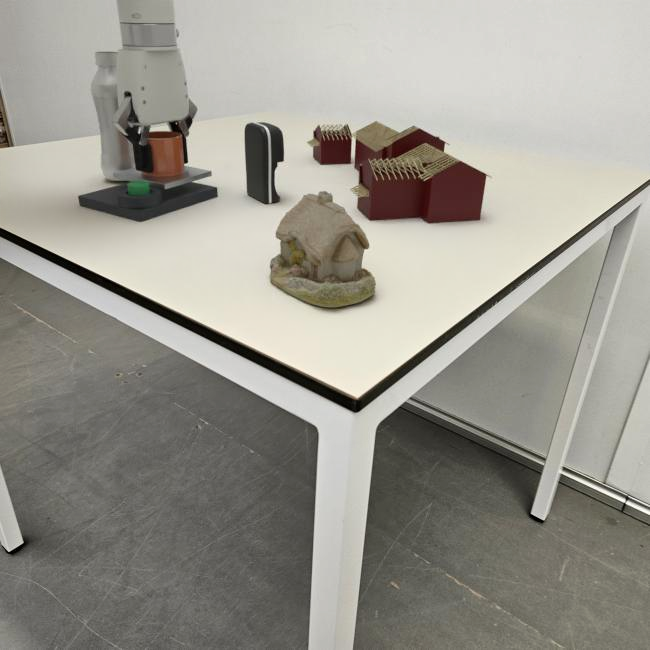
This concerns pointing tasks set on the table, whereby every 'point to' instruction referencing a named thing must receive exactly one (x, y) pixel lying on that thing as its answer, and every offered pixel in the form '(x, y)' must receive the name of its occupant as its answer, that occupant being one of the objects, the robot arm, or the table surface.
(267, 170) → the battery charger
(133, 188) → the tare button
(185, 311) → the table surface
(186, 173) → the scale pan
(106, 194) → the scale
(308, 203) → the ceramic model
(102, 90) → the plastic bottle
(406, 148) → the toy houses
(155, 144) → the ramekin
